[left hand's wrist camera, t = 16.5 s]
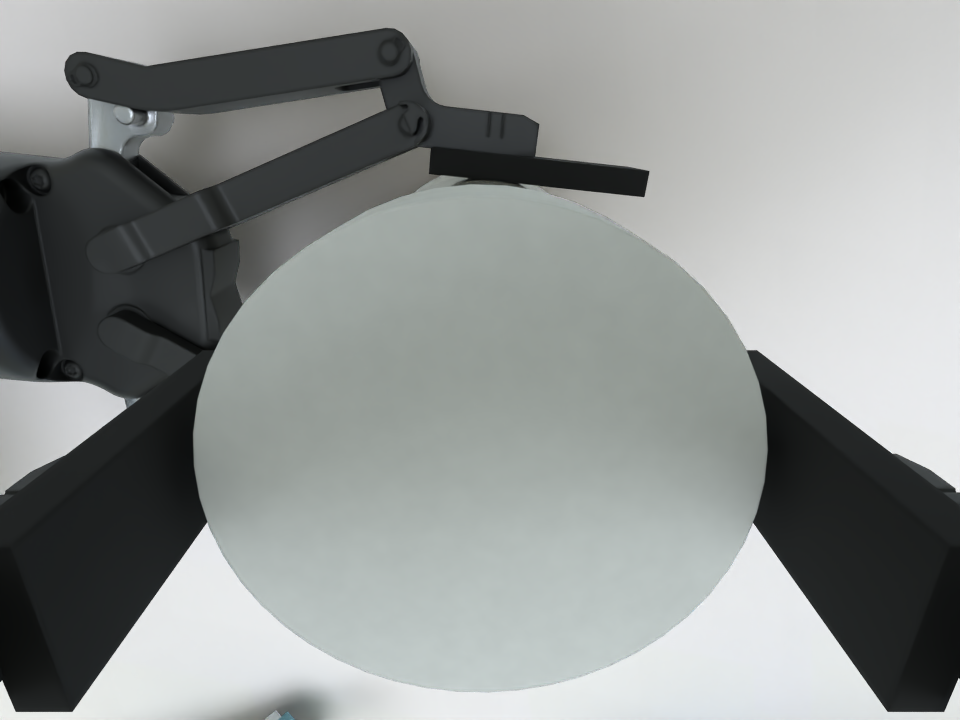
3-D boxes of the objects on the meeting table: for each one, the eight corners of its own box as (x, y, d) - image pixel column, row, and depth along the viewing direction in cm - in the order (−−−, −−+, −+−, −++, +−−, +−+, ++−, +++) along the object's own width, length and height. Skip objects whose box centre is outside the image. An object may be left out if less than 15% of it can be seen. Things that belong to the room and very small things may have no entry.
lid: (784, 488, 13) (848, 563, 10) (418, 660, 15) (407, 754, 12) (573, 68, 10) (603, 48, 7) (145, 356, 12) (64, 408, 9)
